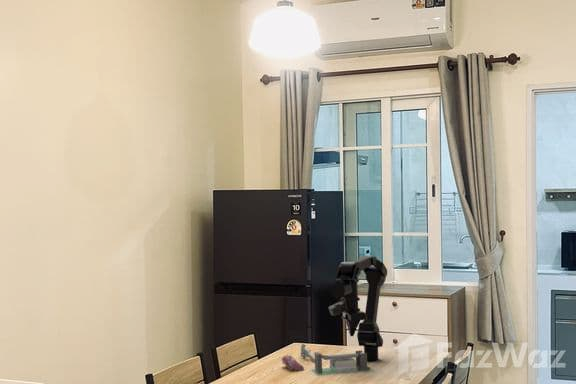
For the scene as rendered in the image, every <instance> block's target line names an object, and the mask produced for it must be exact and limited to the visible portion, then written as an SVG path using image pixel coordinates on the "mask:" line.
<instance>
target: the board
mask: <svg viewBox="0 0 576 384" xmlns="http://www.w3.org/2000/svg"><path fill="white" fill-rule="evenodd" d="M310 371H311V372H312V373H314V374H315V375H316V376H317V377H318V376H329V375H340V374H341V375H342V374H350V373H359V372H373V371H374V369H372V368H371V367H370V370H361V371H360V370H358V369H357V371H354V372H343V373H335V372H334V371H333V370H331V369H330V367H326V368H325V367H322V373H317V372H316V371H315V368H314V369H310Z"/></svg>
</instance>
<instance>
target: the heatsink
mask: <svg viewBox="0 0 576 384" xmlns="http://www.w3.org/2000/svg"><path fill="white" fill-rule="evenodd" d="M329 368H330V369H331V370H333V371H334V372H335V373H341V374H344V373H343V372H352V373H355V372H354V371H357V368H356V359H355V358H342V359H329Z"/></svg>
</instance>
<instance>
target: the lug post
mask: <svg viewBox="0 0 576 384" xmlns="http://www.w3.org/2000/svg"><path fill="white" fill-rule="evenodd" d="M314 357H315V363H314V369H315V371H316V372H317V373H322V369H323V358H324V354H322V353H321V352H319V351H318V352H317V351H316V352H314Z"/></svg>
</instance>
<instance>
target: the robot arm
mask: <svg viewBox="0 0 576 384" xmlns="http://www.w3.org/2000/svg"><path fill="white" fill-rule="evenodd" d="M361 271H363V273H364V274H365V280H366V282H367V284H368V288H367V296H366V297H367V298H366V303H365V305H366V306H365V310H364V311H362V310H361V308H359V301H361V300H360V299H361V298H360V297H359V293H358V291H359V288H358V286H359V284H358V282H360V279H359V276H360V275H361V274H362V273H361ZM387 275H388V269H387V267H386V265H385V264H384V262H382V261H381V260H379V259H378V257H376V255H363V256H362V257H359V258H358V259H354V260H353V261H342V262H341V263H340V264H339V265H338V269H337V272H336V275H335V278H334V279H335V283H333V284H332V286H331V288H330V292H331V294H332V296H333V297H334V298H336V299H340V301H338V302H336V303H334V304H332V305H330V306H328V311H329V313H330V315H331V316H333V317H337V316H340V315H342V316H341V317H340V318H341V319H342V320H343V321H345V323H346V327H347V330H348V333H349V337H354V336H355V333H356V332H357V333H356V337H357V342H358V346H360V347H363V353H367V363H372V362H373V363H374V362H381V361H382V360H381V359H380V358H379V348H381V347H383V346H384V345H383V344H384V339H383V337H382V335H381V334H380V328H379V325H378V322H377V320H378V310H379V303H380V295H381V294H380V293H381V288H382V286H383V285H384V283H385V282H386V277H387ZM361 321H362V322H361ZM357 328H358V329H357Z"/></svg>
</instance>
